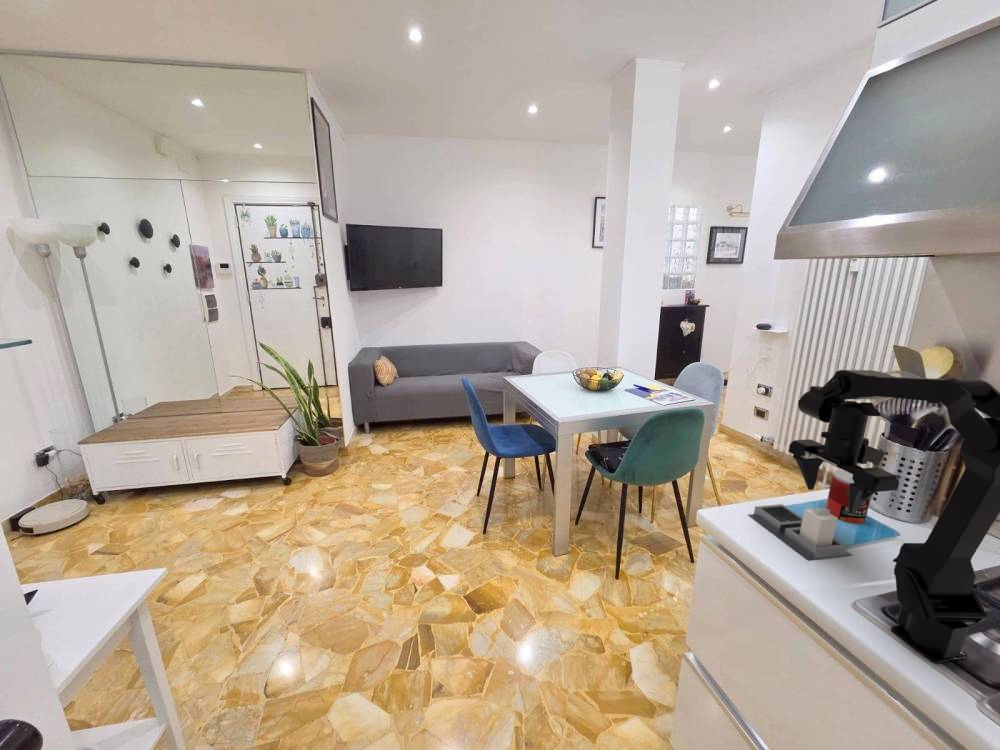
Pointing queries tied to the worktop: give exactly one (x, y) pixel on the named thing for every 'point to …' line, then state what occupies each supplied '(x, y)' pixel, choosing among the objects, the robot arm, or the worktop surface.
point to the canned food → (844, 499)
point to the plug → (818, 526)
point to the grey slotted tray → (794, 532)
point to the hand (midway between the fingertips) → (830, 500)
